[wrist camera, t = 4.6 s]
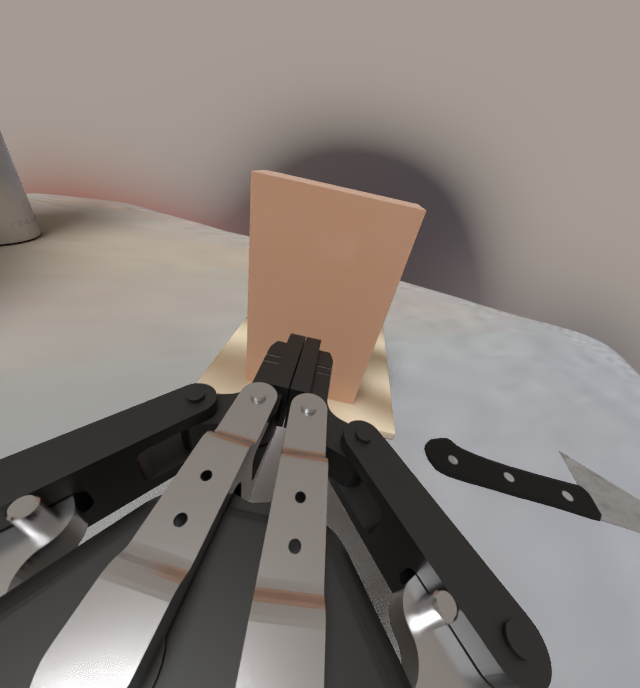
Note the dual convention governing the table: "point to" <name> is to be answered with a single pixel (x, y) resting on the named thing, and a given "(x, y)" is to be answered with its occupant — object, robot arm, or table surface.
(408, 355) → the table surface
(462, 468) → the kitchen knife
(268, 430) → the robot arm
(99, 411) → the table surface
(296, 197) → the tile
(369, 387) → the board
